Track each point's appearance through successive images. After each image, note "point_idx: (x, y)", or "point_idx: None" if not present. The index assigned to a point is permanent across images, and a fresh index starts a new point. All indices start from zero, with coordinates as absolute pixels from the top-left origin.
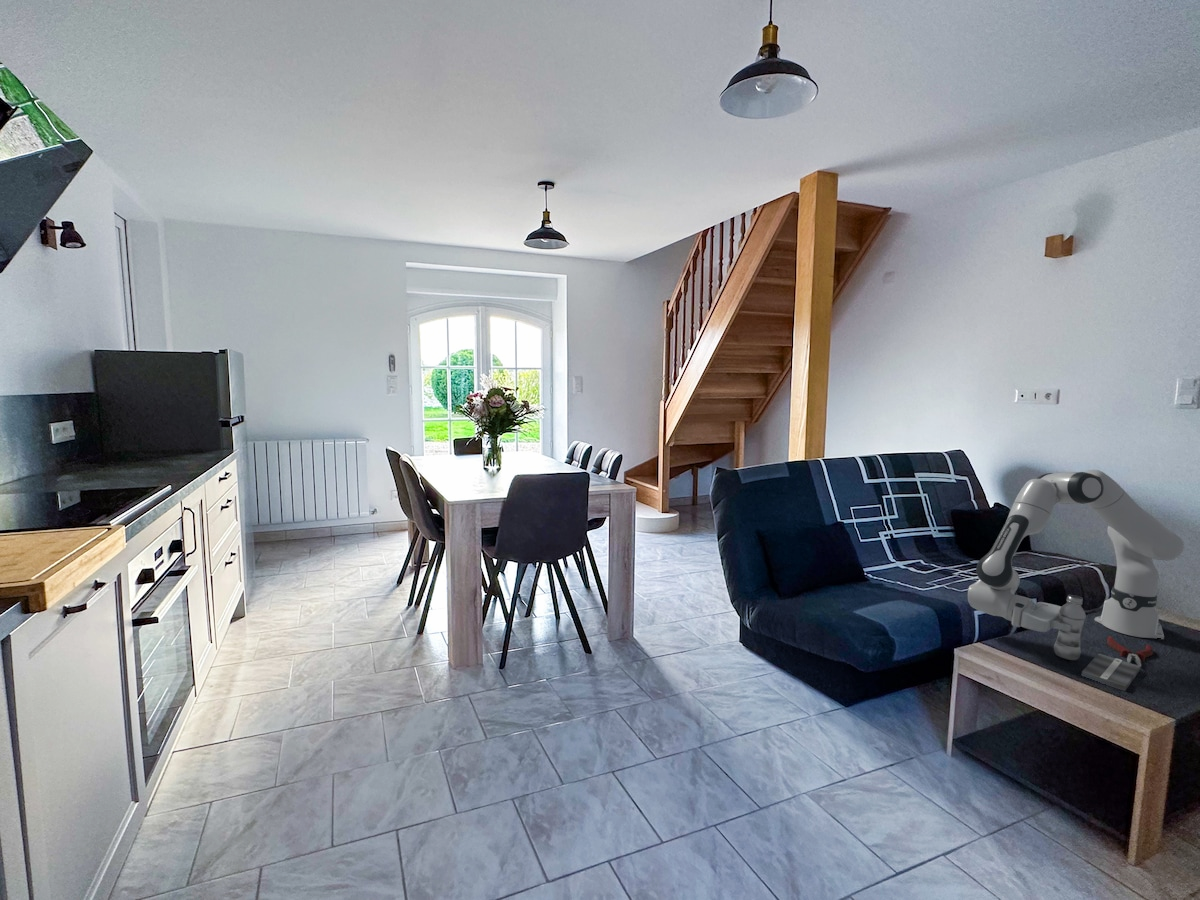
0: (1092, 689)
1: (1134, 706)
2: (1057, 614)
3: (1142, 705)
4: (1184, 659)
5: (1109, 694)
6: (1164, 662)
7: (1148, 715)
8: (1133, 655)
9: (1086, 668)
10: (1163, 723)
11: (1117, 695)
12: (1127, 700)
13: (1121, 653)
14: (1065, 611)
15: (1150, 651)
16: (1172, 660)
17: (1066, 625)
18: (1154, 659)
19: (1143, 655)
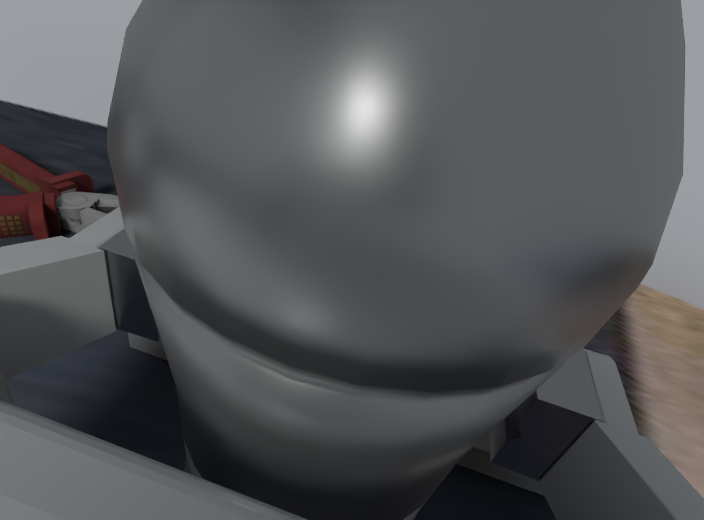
0: (688, 469)
1: (662, 345)
2: (170, 468)
3: (617, 320)
4: (14, 111)
5: (652, 404)
6: (74, 155)
7: (686, 326)
8: (87, 202)
9: (488, 445)
10: (694, 306)
11: (622, 376)
12: (631, 353)
13: (42, 233)
14: (674, 187)
15: (3, 145)
16: (39, 134)
17: (621, 403)
18: (48, 167)
19: (85, 174)
